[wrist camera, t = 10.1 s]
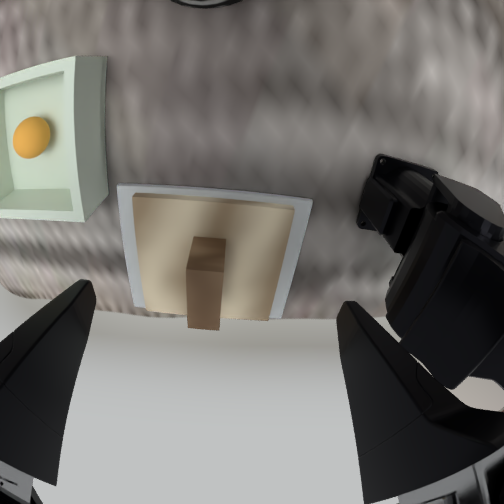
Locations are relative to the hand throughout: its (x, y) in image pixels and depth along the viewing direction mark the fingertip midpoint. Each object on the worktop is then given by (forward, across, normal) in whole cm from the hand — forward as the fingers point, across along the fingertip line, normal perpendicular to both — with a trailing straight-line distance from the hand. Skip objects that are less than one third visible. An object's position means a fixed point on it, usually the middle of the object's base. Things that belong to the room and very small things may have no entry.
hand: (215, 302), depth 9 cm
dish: (+13, +15, -3) cm, 20 cm away
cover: (+12, +1, +8) cm, 15 cm away
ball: (+11, +15, -3) cm, 19 cm away
